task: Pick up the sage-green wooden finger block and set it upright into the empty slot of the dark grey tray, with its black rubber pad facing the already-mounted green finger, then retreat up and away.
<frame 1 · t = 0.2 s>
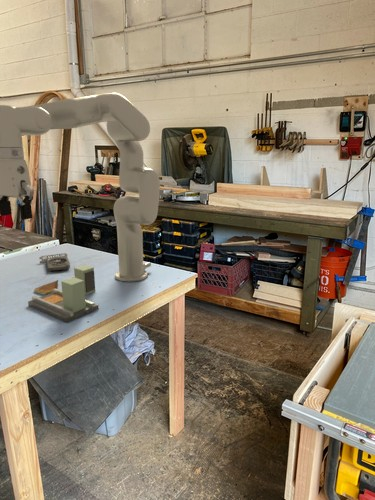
hand: (16, 216, 106), 31 cm above the workbench, tool pointing down, fingers open, 9 cm apart
dark grey tray: (63, 307, 121), on the workbench
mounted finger: (75, 312, 117), resting on dark grey tray
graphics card: (55, 267, 160), on the workbench
shard: (46, 290, 136), on the workbench
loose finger: (85, 291, 133), on the workbench
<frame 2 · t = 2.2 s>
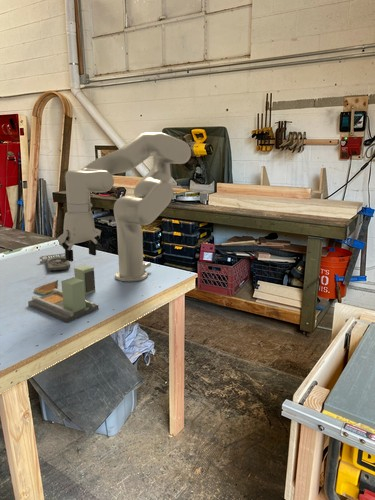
hand: (81, 257, 129), 13 cm above the workbench, tool pointing down, fingers open, 9 cm apart
nothing on the workbench moved.
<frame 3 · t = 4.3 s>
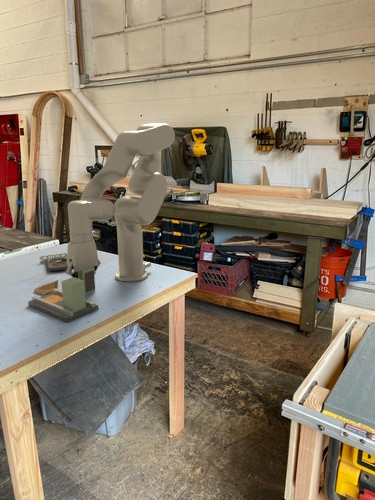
hand: (85, 286, 133), 2 cm above the workbench, tool pointing down, fingers closed on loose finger, 4 cm apart
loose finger: (85, 291, 133), on the workbench, touching gripper
everything else where it was.
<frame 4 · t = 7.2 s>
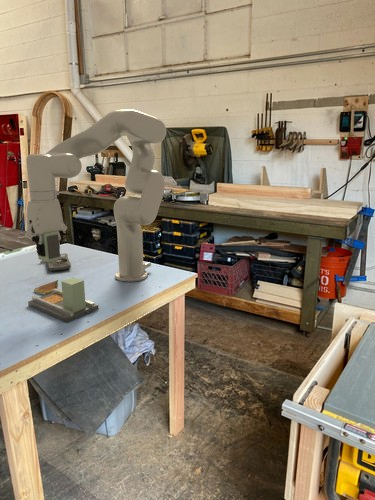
hand: (48, 253, 119), 17 cm above the workbench, tool pointing down, fingers closed on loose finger, 4 cm apart
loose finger: (49, 258, 119), point 15 cm above the workbench, touching gripper
everything else where it was.
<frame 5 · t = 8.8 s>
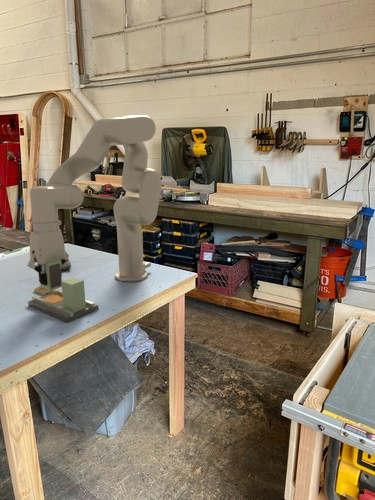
hand: (50, 281, 121), 8 cm above the workbench, tool pointing down, fingers closed on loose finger, 4 cm apart
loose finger: (51, 286, 122), point 6 cm above the workbench, touching gripper
everything else where it was.
when the fingers open (4 cm above the workbench, at t = 10.3 s): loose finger stays where it is, resting on dark grey tray.
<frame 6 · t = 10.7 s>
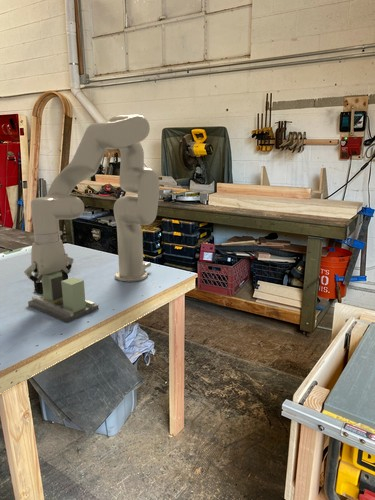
hand: (52, 288, 122), 5 cm above the workbench, tool pointing down, fingers open, 9 cm apart
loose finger: (53, 298, 123), point 2 cm above the workbench, touching dark grey tray
everything else where it was.
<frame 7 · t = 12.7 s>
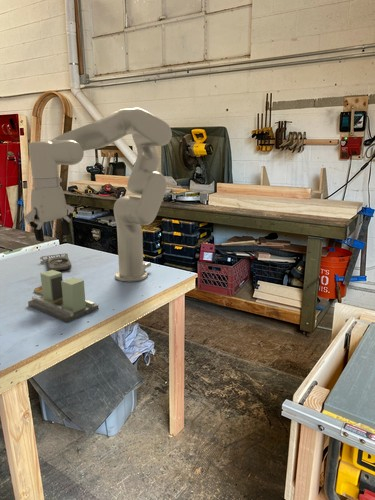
hand: (53, 237, 120), 22 cm above the workbench, tool pointing down, fingers open, 9 cm apart
nothing on the workbench moved.
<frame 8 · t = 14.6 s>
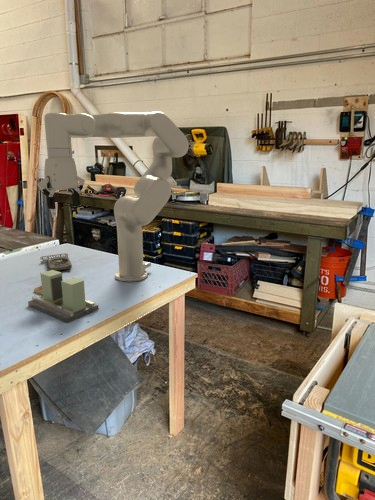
hand: (64, 206, 125), 30 cm above the workbench, tool pointing down, fingers open, 9 cm apart
nothing on the workbench moved.
at the end: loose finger 0.1 cm from the target spot on the dark grey tray, point 1.6 cm above the dark grey tray's base; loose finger tilted 0°; the gripper is holding nothing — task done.
